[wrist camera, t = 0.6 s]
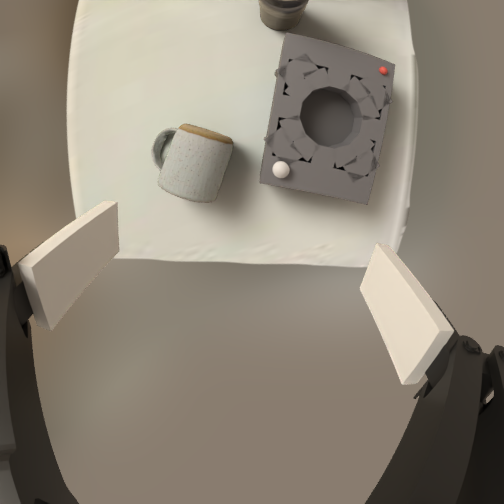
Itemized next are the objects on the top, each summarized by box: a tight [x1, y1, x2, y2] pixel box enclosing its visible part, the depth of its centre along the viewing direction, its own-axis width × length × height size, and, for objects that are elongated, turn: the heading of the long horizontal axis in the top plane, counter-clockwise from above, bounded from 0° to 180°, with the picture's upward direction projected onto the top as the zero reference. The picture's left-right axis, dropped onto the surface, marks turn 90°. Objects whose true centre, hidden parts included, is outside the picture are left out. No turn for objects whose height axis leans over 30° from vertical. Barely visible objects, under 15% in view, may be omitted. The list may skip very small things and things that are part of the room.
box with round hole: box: [260, 33, 395, 205], centre depth 29 cm, size 18×14×7 cm
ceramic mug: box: [152, 124, 233, 203], centre depth 31 cm, size 11×8×8 cm
